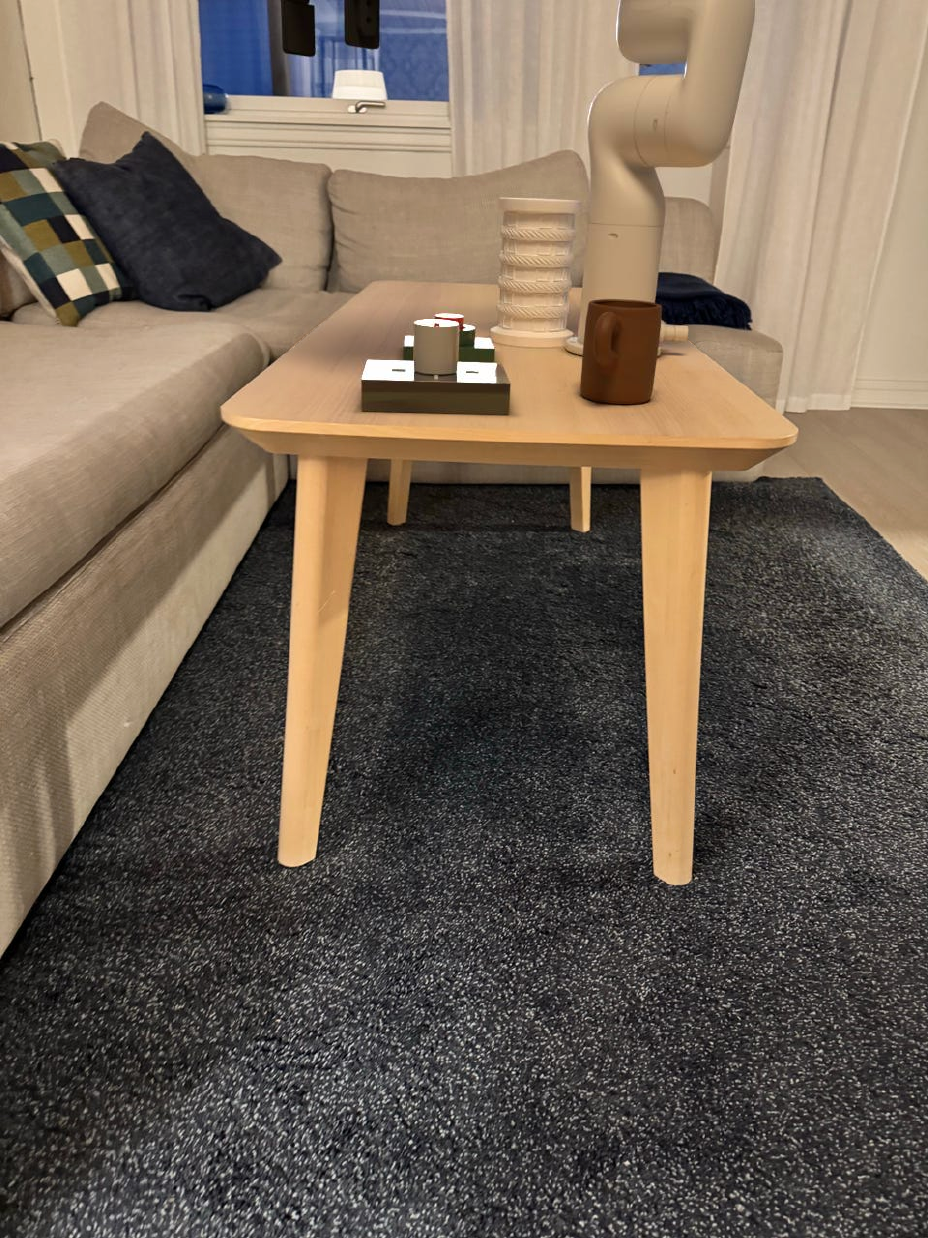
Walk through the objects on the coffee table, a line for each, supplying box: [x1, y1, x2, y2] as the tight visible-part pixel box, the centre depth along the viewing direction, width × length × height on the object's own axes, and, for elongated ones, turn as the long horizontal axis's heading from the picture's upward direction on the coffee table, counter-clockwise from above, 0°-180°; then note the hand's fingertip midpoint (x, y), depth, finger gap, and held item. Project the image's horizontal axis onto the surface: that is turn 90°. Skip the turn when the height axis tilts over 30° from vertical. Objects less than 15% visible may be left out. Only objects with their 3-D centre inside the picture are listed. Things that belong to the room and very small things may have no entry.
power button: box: [434, 313, 465, 329], centre depth 112 cm, size 4×4×2 cm
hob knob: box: [412, 319, 459, 375], centre depth 88 cm, size 4×4×5 cm
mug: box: [579, 299, 663, 405], centre depth 91 cm, size 12×8×9 cm, turn 156°
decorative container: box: [489, 197, 583, 348], centre depth 123 cm, size 12×12×18 cm
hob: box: [360, 359, 512, 416], centre depth 90 cm, size 14×10×3 cm
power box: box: [403, 324, 496, 363], centre depth 113 cm, size 11×8×4 cm
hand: (329, 51), depth 79 cm, fingers open, 9 cm apart
